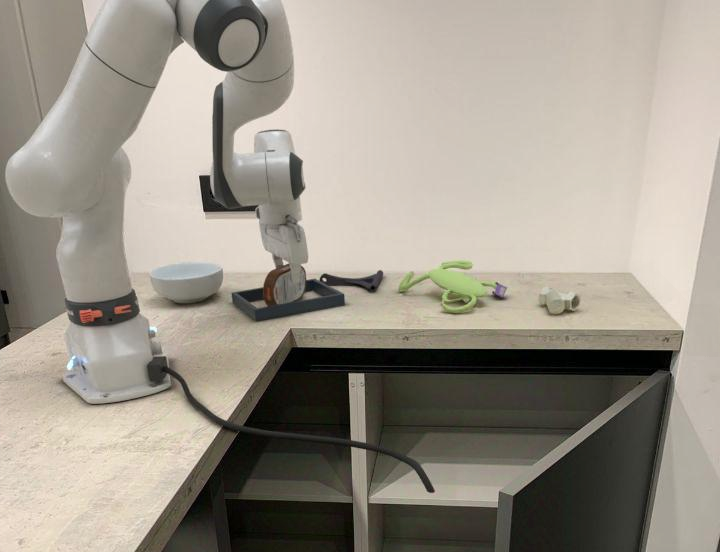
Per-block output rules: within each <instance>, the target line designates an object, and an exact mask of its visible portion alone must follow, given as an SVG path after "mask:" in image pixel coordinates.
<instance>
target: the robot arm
mask: <svg viewBox="0 0 720 552" xmlns="http://www.w3.org/2000/svg"><path fill="white" fill-rule="evenodd" d="M184 43H186V44H188V46H189V47H190V48H192V49H193V50H194V51H195V52H196V53H197V54H198V56H199V57H200V58H201V59H202V60H203V62H205V63H206V64H208V65H209V66H210V67H213V68H215V69H217V70H218V71H221V72H226V74H225V77H224V78H223V80H222V81H221V82H220V83H218V84H217V85H216V86H215V88H214V92H213V97H212V116H211V117H212V118H211V120H212V121H211V122H212V123H211V124H212V126H211V127H212V129H211V130H212V131H211V133H212V134H211V135H212V140H211V141H212V143H211V144H212V145H211V146H212V149H211V150H212V151H211V152H212V163H211V167H210V173H209V181H210V182H209V183H210V189H211V192H212V193H211V194H212V195H213V197H214V199H215V200H216V202H218V203H219V204H220V205H221V206H223V207H224V208H226V209H228V210H233V209H234V210H235V209H239V208H245V207H251V206H257V207H256V208H255V218H256V219H258V227H259V231H260V238H261V242H262V245H263V248H264V250H265V251H266V252H269V253H270V254H271V259H272V261H273V264H274V267H275V268H274V269H276V268H279V267H281V266H284V265H285V264H284V261H285V262H287V263H289V265H290V267H291V274H290V281H291V282H293V283H297V282H299V281H300V275H299V274H300V269H301V266H302V265H304V264H308V262H309V251H308V242H307V236H306V232H305V228H304V227H303V226H302V225H300V224H299V223H298V222H302V220H303V214H302V205H301V204H302V203H301V195H302V194H303V192H305V190H306V183H305V179H304V169H303V168H304V167H303V164H304V160H303V159H301V158H300V157H299V156H298V155H296V151H295V146H294V141H293V138H292V134H291V133H290V132H289V131H287V130H286V129H278V128H277V129H265V130H261V131H258V132H257V133H255V134H254V138H253V152H248V153H247V152H246V153H238V152H235V134H236V132H237V131H238V130H240V128H242V127H243V126H245V125H246V124H248V123H251V122H253V121H255V120H258V119H260V118H263V117H266V116H269V115H271V114H273V113H274V112H277V111H278V110H279V109H280V108H281V107H282V106H283V105H284V104H285V103H286V102H287V101H288V99H289V97H290V96H291V94H292V91H293V89H294V85H295V84H294V83H295V57H294V48H293V42H292V35H291V31H290V25H289V21H288V18H287V15H286V10H285V7H284V4H283V2H282V0H104V1H103V3H102V4H101V6H100V8H99V10H98V12H97V14H96V15H95V16H94V19H93V21H92V23H91V25H90V27H89V29H88V32H87V34H86V36H85V39H84V41H83V44H82V46H81V48H80V50H79V53H78V56H77V58H76V61H75V63H74V66H73V68H72V70H71V72H70V75H69V77H68V79H67V81H66V84H65V86H64V88H63V89H62V92H61V93H60V95H59V97H58V98H57V100H56V101H55V102H54V104H53V105H52V106H51V108H50V110H49V111H48V112H47V113H46V115H45V116H44V118H43V119H42V121H41V122H40V123H39V125H38V127H37V128H36V129H35V131H34V133H32V135H31V136H30V138H29V139H28V140H27V142H25V144H24V145H23V146H22V147H20V148H19V149H18V150H17V151H16V152H15V153H13V154H12V155H11V156H10V158H9V159H8V161H7V163H6V166H5V174H4V176H5V183H6V187H7V191H8V193H9V195H10V197H11V198H12V200H13V201H14V203H16V205H17V206H18V207H19V208H20V209H21V210H23V211H24V212H25V213H27V214H29V215H32V216H35V217H39V218H51V219H52V218H55V219H56V218H57V219H58V218H60V219H61V218H62V225H61V226H62V228H61V234H60V239H59V241H58V242H57V246H56V249H55V257H56V261H57V265H58V270H59V273H60V277H61V281H62V286H63V289H64V293H65V298H64V305H65V306H64V307H65V311H66V313H67V317H68V320H69V322H70V323H69V326H68V327H67V329H66V330H65V331H64V332H63V338H64V341H65V346H66V350H67V355H68V360H69V362H68V363H67V365H66V368H67V370H68V371H67V372H66V373H63V374H62V381H63V383H65V384H66V385H67V386H68V387H69V388H70V389H71V390H72V391H73V392H74V393H76V394H77V395H78V396H79V397H81V398H82V399H83V400H84V401H85V402H86V403H88V404H89V405H91V404H93V405H94V404H95V405H96V404H97V405H99V404H109V403H117V402H122V401H128V400H133V399H137V398H141V397H146V396H150V395H153V394H157V393H160V392H161V391H165V390H167V389H169V388H170V387H171V386H172V382H171V381H172V380H171V377H173V378H174V379H175V380H176V381H178V382H179V384H180V385H181V388H182V391H183V393H184V395H185V396H186V398H187V400H188V401H189V402H190V403H191V404H192V406H194V407H195V408H196V409H197V410H198V411H200V412H201V413H202V414H204V415H205V416H206V417H207V418H208V419H210V420H211V421H212V422H214V423H215V424H218V425H220V426H222V427H224V428H227V429H229V430H233V431H237V432H240V433H245V434H249V435H253V436H259V437H263V438H264V437H266V438H270V439H271V438H272V439H281V440H291V441H299V442H300V441H301V442H307V443H308V442H309V443H317V444H328V445H336V446H344V447H351V448H356V449H361V450H367V451H371V452H375V453H380V454H384V455H387V456H390V457H391V458H394V459H396V460H398V461H400V462H402V463H403V464H406V465H408V466H409V467H411V468H412V469H413V470H414V471H415V473H416V474H417V475H418V477H419V479H420V481H421V482H422V484H423V486H424V488H425V490H426V492H428V493H429V494H434V493H435V492H436V491H435V490H436V489H435V487H434V485H433V484H432V482H431V480H430V478H429V476H428V475H427V473H426V471H425V470H424V468H423V467H422V465H421V464H420V463H419V462H418V461H416V460H415V459H413V458H412V457H409V456H407V455H406V454H403V453H401V452H399V451H397V450H395V449H391V448H389V447H386V446H382V445H378V444H373V443H368V442H363V441H357V440H352V439H346V438H339V437H331V436H319V435H311V434H303V433H302V434H301V433H294V432H293V433H292V432H290V433H289V432H282V431H274V430H266V429H260V428H255V427H249V426H245V425H240V424H237V423H233V422H230V421H228V420H225V419H223V418H221V417H219V416H217V415H216V414H214V413H213V412H212V411H211V410H210V409H208V408H207V407H206V406H205V405H203V404H202V403H200V401H198V400H197V398H195V397H194V396H193V394H192V393H191V391H190V389H189V385H188V383H187V382H186V380H185V378H183V376H182V375H181V374H179V373H178V372H177V371H175V370H173V369H172V368H170V360H169V357H168V355H166V354H163V349H162V344H161V341H153V339H155V338H156V336H157V335H156V333H157V330H158V329H157V327H155V326H151V325H150V321H149V318H148V317H146V316H144V315H143V314H141V313H140V311H141V310H140V306H139V299H138V296H137V292H136V290H135V289H134V288H133V287H132V286H133V285H132V281H131V277H130V270H129V265H128V260H127V255H126V249H125V248H126V247H125V235H124V232H125V230H124V227H125V226H124V225H125V223H124V222H125V200H126V193H127V189H128V187H129V185H130V183H131V179H132V165H131V161H130V159H129V156H128V154H127V152H126V150H125V149H124V148H123V147H122V146H123V145H124V144H125V143H126V142H127V141H128V140H129V139H130V138H131V137H132V136H133V135H134V134H135V133H136V131H137V129H138V127H139V125H140V123H141V121H142V119H143V116H144V115H145V113H146V110H147V108H148V106H149V104H150V102H151V100H152V98H153V95H154V93H155V91H156V89H157V87H158V85H159V82H160V81H161V78H162V76H163V74H164V71H165V68H166V66H167V64H168V63H167V62H168V60H169V57H170V56H171V54H172V53H173V52H174V51H175V50H176V49H177V48H178V47H179V46H181V45H182V44H184Z"/></svg>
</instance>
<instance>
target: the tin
mask: <svg viewBox="0 0 720 552" xmlns="http://www.w3.org/2000/svg"><path fill="white" fill-rule="evenodd" d="M283 265H284V266H281V267H279V268H274V269H272V270H270V271H269V272H268V273H267V274H266V276H265V278H264V282H263V297H264V299H263V301H264V303H265V305H266V307H267V306H272V305H278V304H284V303H289V302H295V301H301V299H302V298H303V296H304V295H305V293H306V292H305V289H306V280H307V272H306V269H305V267H303V265H301V269H300V274H299V275H300V281H299V282H297V283H293V282H291V281H290V274H291V267H290V265H289V262H287V263H286V264H283Z"/></svg>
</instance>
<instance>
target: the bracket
mask: <svg viewBox="0 0 720 552" xmlns="http://www.w3.org/2000/svg"><path fill="white" fill-rule="evenodd" d="M383 276H384V271H383V270H382V269H379V270H377V272H376V273H374V274H372V275H368V276H364V277H355V278H354V277H353V278H352V277H343V276H337V275H332V274H328V273H325V272H324V273H322V274H321V275H320V277H319V279H318V280H319V281H321V282H323V283H324V284H326V285H328V286H362V287H364V288H366V289H367V290H369V291H370V292H371V293H374V292H376V291H377V289H378V287H379V285H380V282H381V280H382V278H383ZM324 279H325V280H326V281H325V280H324Z"/></svg>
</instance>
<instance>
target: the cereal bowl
mask: <svg viewBox="0 0 720 552" xmlns="http://www.w3.org/2000/svg"><path fill="white" fill-rule="evenodd" d="M148 275H149V280H150V284H151V287H152V289H153V290H154V292H155V293H156V294H157V295H158V296H160V297H161V298H162V297H163V298H165V299H167V300H171V301H173V302H174V303H175V304H176V303H177V304H195V303H199V302H203V301H205V300H206V299H207V298H208V297H210V296H212V295H214V294H215V293H216V292H218V291H219V290H220V289H221V287H222V284H223V281H224V269H223V266H222V265H221V264H219V263H216V262H208V261H185V262H176V263H170V264H165V265H162V266H159V267H156V268H154V269H152V270H151V271H150V272H149V273H148Z"/></svg>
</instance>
